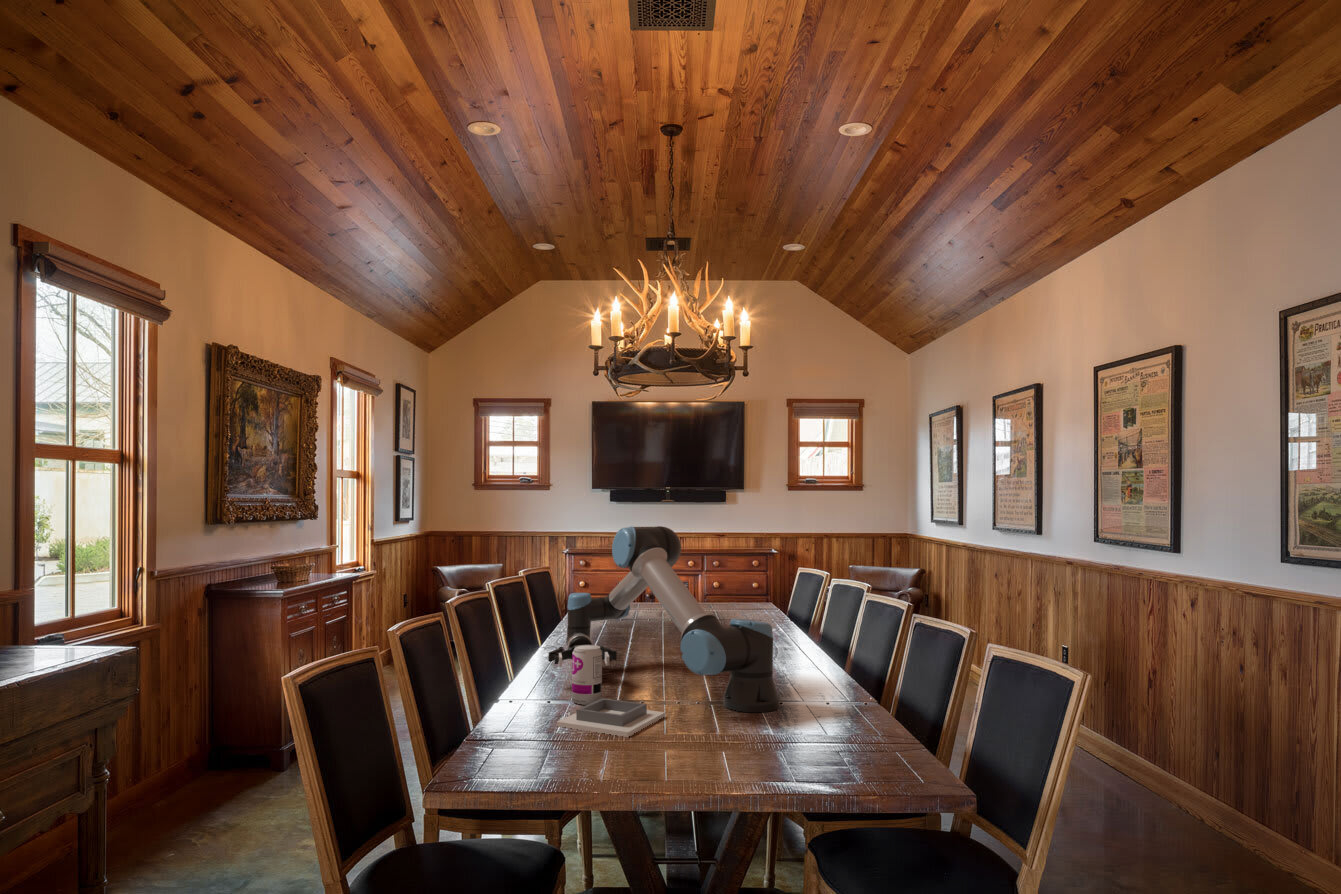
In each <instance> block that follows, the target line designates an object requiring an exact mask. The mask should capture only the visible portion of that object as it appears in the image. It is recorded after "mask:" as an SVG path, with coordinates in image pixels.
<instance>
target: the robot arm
mask: <svg viewBox="0 0 1341 894" xmlns="http://www.w3.org/2000/svg"><path fill="white" fill-rule="evenodd" d="M611 553H612V555H611V556H612V559H613V562H614V563H615V565H616V566H617V567H618V568H622V569H625V568H628V569H629V572H628V573H627V574H626V575H625V576H624V578H622V579H621V581H620V582H619V583H617V585H616V586H615V587H613V589H612V590H611V591H610V593H608V594H607V595H606V596H602V597H592V595H591V593H589V592H572V593H570V594H568V600H567V627H566V631H567V632H566V641H565V644H566V646H567V649H565V647H563V646H559V647H558V648H556V649H554V650H551V651H549V652H548V659H547V660H548V662H554V665H558V667H559V668H562V667H563V661H566V660H572V652H573V651H574V649H575V647H576V646H579V645H593V644H592V641H591V628H592V627H591V625H592V624H591V623H592V622H597V621H599V622H600V621H609V620H619V619H622V618H626V617H628V616H629V613H630V610H631V604H632V603H633V602H634V601H635V600H636V599H638V597H639V596H640V595H642V593H643V592H644V591H645V590H647V588H648V589H649V590H650V591H651V593H653V595H654V597H655V598H656V600H657V601H658V602H659V604H660V605H661V607H662V608H663V609H664V611H665V612H666V613H667V615H668V617H670V619H671V621H672V622H673V623H674V625H675V627H676V628H677V629H678V631H679V632H680V633H681V635H680V652H681V653H682V655H681V659H682V661H683V663H684V664H685V666H686V667H687V669H689V670H690V671H691V672H692V673H694V674H696V675H698V676H714V675H718V674H721V673H726V672H729V678H728V682H727V685H726V688H725V691H724V694H723V706H724V707H725V708H727V709H728V710H731V709H732V710H731V711H735V710H736V712H741V711H742V712H743V713H767V712H772V711H775V710H779V708H780V696H779V694H778V690H777V687H776V685H775V681H774V677H773V675H774V673H773V668H774V667H773V665H774V664H773V663H774V659H773V658H774V636H773V635H774V634H773V632H774V631H773V627H772V625H771V624H770V623H768V622H764V621H761V620H760V621H759V620H754V619H753V620H752V619H746V618H745V619H744V618H743V619H742V618H731V620H730V622H729V626H728V625H727V626H724V625H723V624H722V623H721V622H720V620H719V619H718V618H717V616H716V615H714V614H711V613H706V612H707V611H705V609H704V608H703V607H702V606H701V604H700V603H699V601H698V600H697V599H696V598H695V596H694V595H693V594H692V592H691V591H690V590H689V589H688V587H687V586H686V585H685V582H683V580H682V579H681V578H680V577H679V576H678V574H677V572H675V570H674V569H673V567H674V566H675V565H676V563H677V562H678V560H679V558H680V557H681V553H682V542H681V540H680V538H679V536H678V535H677V533H676V532H675V531H674V530H672V529H671V528H669V527H666V526H661V525H659V526H627V527H622V528H619V530H617V532H616V534H615V535H614V538H613V540H612V547H611ZM600 649H601V651H602V661H604V663H605V665H606V667H608V666H610V662H613V661H617V660H618V659H617V658H618V656H617V655H618V654H617V651H616V650H615V649H614V650H613V649H610V648H607V647H605V646H603V645H600Z"/></svg>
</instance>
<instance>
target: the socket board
mask: <svg viewBox="0 0 1341 894" xmlns="http://www.w3.org/2000/svg"><path fill="white" fill-rule="evenodd" d="M647 707H648V704H647V703H644V702H643V703H642V702H633V701H625V700H618V699H611V698H604V697H603V698H602V699H600V700H598V701H595V702H593V703H591V704H589V705H583V706H582V707H580V708H577V709H576V712H575V713H573V714H570V715H568V716H566V717H564V718H562V719H560V720H558V721H556V727H557V726H558V728H563V727H566V728H565V729H570V728H572V729H571V730H576V729H578V731H584V732H589V731H590V733H591V732H592V733H596V732H597V733H596V734H602V733H605V734H604V735H609V734H611V735H610V736H615V735H617V737H622V736H623V737H622V738H629V736H630V737H631V736H633V735H635V734H636V732H637V733H639V732H640V731H642V730H644V729H646V728H648V727H650V726H651V725H653V724H655V723H657V722H659V721H660V720H659V719H661V718H662V719H664V718H665V717H666V712H665V711H656V710H652V709H651V710H649V709H648V708H647ZM663 717H664V718H663ZM662 719H661V720H662ZM658 720H659V721H658ZM656 721H657V722H656ZM654 722H655V723H654ZM652 723H653V724H652ZM650 724H651V725H650ZM649 725H650V726H649ZM647 726H648V727H647ZM645 727H646V728H645ZM643 728H644V729H643ZM641 729H642V730H641ZM638 731H639V732H638ZM634 733H635V734H634Z"/></svg>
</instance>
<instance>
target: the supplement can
mask: <svg viewBox="0 0 1341 894" xmlns="http://www.w3.org/2000/svg"><path fill="white" fill-rule="evenodd" d="M600 646H601V645H600ZM600 646H599V645H595V644H592V645H579V646H576V647H575V649H574V651H573V652H572V659H571V660H572V662H571V665H572V668H571V701H572V702H573V703H574V702H575V703H577V704H576V705H578V704H582V705H581V706H586V705H589V704H591V703H593V702H595V701H598V700H600V699H602V691H603V690H602V689H603V688H602V686H603V684H602V682H603V679H602V678H603V677H602V676H603V660H602V651H601V649H600ZM575 703H574V704H575Z"/></svg>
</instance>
